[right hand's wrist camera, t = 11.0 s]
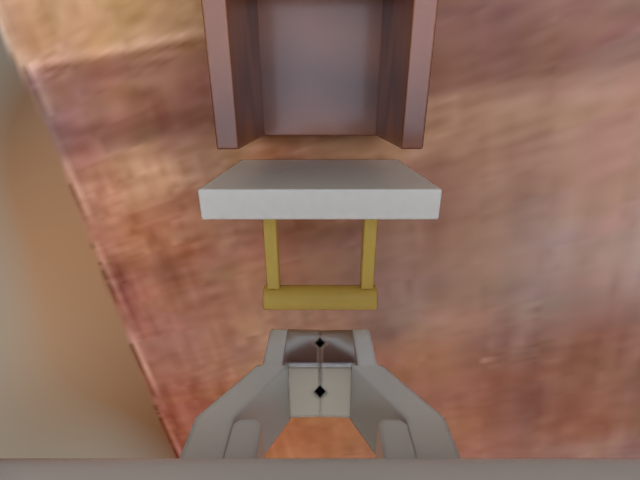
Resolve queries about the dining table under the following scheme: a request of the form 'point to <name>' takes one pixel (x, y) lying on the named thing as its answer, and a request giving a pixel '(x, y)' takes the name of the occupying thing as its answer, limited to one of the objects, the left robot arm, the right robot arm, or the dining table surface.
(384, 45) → the drawer
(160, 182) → the dining table surface
